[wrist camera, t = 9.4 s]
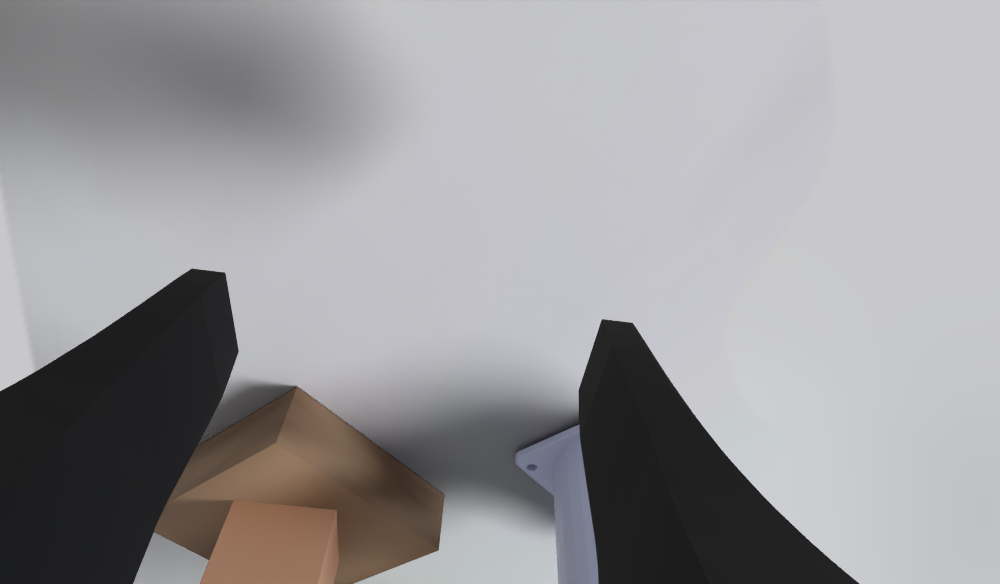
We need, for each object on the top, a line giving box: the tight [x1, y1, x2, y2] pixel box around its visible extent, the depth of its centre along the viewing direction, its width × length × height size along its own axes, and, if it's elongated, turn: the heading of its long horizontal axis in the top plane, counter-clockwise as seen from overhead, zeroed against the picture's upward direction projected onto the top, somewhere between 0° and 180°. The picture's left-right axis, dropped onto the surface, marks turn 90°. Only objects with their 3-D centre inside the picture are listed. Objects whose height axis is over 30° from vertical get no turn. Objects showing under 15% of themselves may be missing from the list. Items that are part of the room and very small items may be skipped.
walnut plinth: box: [154, 387, 444, 584], centre depth 30 cm, size 10×10×3 cm
